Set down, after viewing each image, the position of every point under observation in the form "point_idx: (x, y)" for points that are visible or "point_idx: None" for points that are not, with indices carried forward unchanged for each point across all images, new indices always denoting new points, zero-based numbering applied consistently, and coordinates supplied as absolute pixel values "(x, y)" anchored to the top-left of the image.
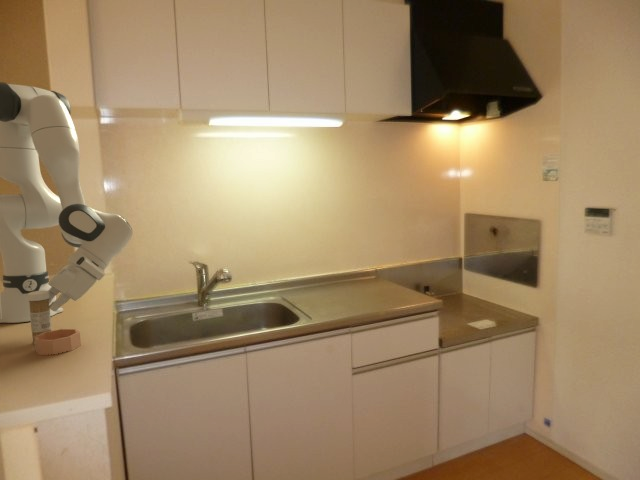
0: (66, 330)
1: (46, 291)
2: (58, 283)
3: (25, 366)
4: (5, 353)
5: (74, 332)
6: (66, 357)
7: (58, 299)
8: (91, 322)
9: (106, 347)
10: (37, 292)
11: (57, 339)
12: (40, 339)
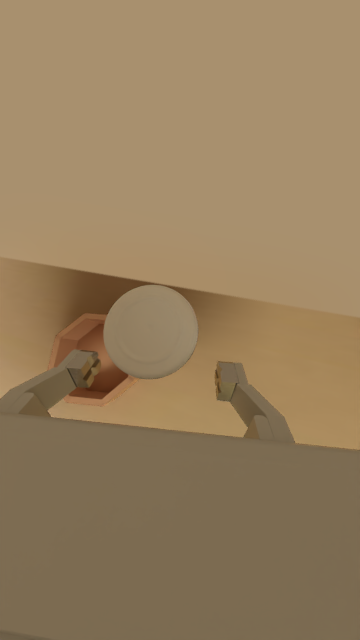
0: (117, 386)
1: (127, 364)
2: (136, 473)
3: (60, 291)
4: (157, 283)
5: (97, 397)
6: (43, 349)
7: (30, 382)
8: None
9: None
10: (141, 322)
11: (54, 344)
12: None
